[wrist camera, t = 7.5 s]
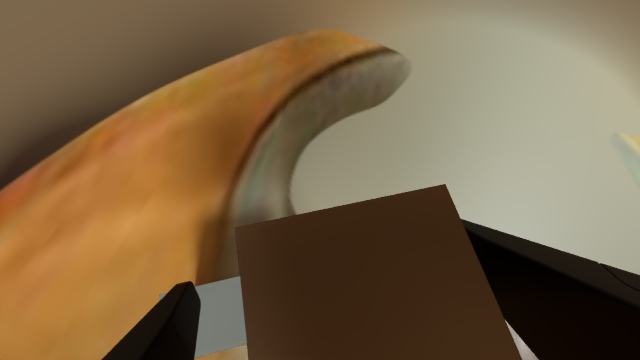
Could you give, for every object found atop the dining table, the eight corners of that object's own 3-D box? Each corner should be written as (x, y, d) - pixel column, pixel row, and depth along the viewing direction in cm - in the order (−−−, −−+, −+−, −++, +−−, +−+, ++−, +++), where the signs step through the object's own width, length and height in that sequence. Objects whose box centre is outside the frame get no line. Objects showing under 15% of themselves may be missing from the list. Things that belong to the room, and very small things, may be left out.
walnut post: (359, 309, 14) (562, 451, 3) (295, 327, 14) (270, 578, 3) (342, 244, 16) (445, 184, 5) (284, 258, 15) (235, 227, 4)
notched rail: (435, 277, 16) (474, 280, 13) (196, 341, 14) (158, 368, 10) (419, 235, 17) (452, 225, 14) (194, 288, 15) (159, 294, 11)
